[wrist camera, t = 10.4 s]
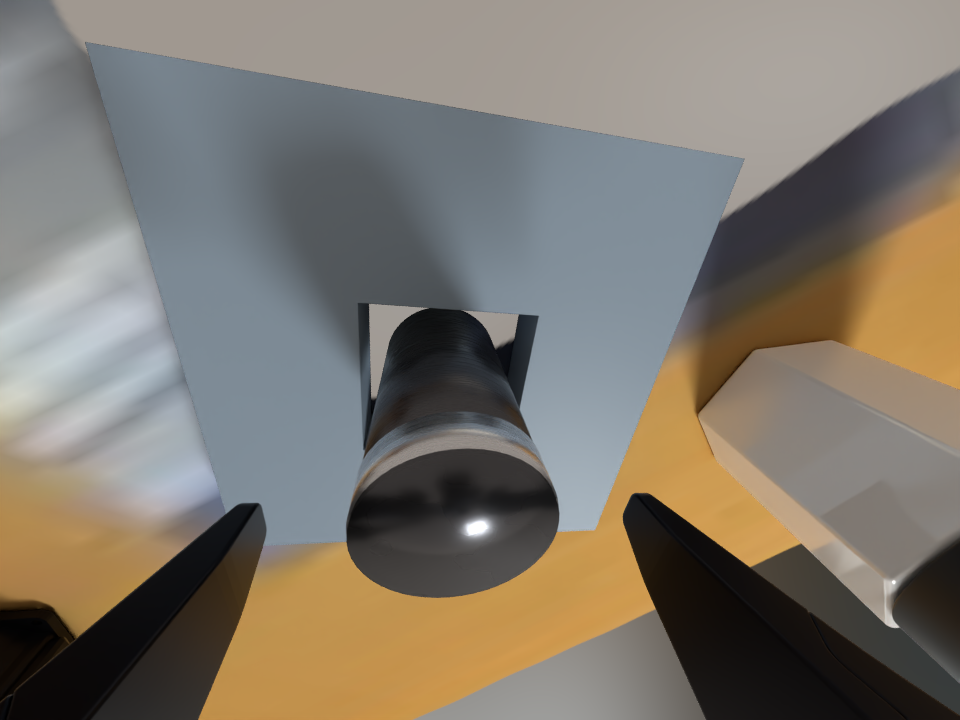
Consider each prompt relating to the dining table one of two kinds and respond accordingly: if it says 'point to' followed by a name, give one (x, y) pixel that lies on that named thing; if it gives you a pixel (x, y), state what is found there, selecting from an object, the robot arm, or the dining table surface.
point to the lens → (448, 468)
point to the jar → (855, 475)
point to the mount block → (397, 266)
